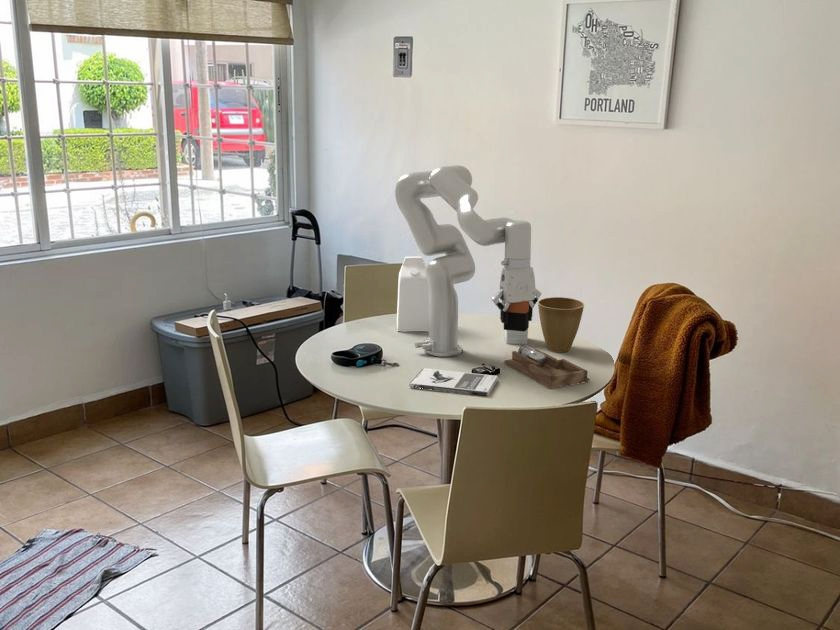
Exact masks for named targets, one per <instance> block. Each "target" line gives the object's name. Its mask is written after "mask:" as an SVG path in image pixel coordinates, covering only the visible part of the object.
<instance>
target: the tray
mask: <svg viewBox="0 0 840 630" xmlns="http://www.w3.org/2000/svg"><path fill="white" fill-rule="evenodd" d="M532 348H533V349H534V350H536V351H538V352H540V353H542V354H544V355H545V356H546V358H547V360H546V363H545V364H544V365H543V366H540V364H539V363H537V362H535V361H533V360H531V359H530V358H528V357H526V356H524V355H522V354H520V353H518V351H516V350H514V351H511V353H512V354H511V358H509V359H504V360H503V362H504V363H503V364H505V365H506V366H509V367H510V368H512V369H513V370H515V371H517V372H519V373H520V374H522V375H524V376H526V377H527V378H530V379H531V380H533V381H535V382H537V383H538V384H540V385H542V386H543V387H545V388H547V389H549V390H551V389H556V387H557V388H561V387H560V386H563V387H567V386H566V385H568V386H573V385H572V384H574V385H577V383H579V384H583V383H582V382H585V383H589V382H590V377H588V373H589V371H588V370H586V369H585V368H582V366H579V365H577V364H575V363H572V362H571V361H568V360H566V359H565V358H561V359H558V358H556V357H553V356H552V355H549V354H548V353H546V352H544V351H542V350H539V349H537V348H536V347H532ZM588 381H589V382H588Z"/></svg>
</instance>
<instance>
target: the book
mask: <svg viewBox="0 0 840 630" xmlns="http://www.w3.org/2000/svg"><path fill="white" fill-rule="evenodd" d="M497 382H498V375H492V374H485V373H484V374H482V373H474V372H473V373H471V372H465V371H464V372H463V371H455V370H453V371H452V370H445V369H437V368H436V369H434V368H422V369H421V370H420V371H419V372H418V373H417V374H416V376H415V377H413V379H411V380H410V381H409V383H408V386H409V387H414V388H421V389H420V390H423V389H432V390H439V391H438V392H441V391H446V392H445V393H450V392H453V393H452V394H459V393H461V394H462V395H470V396H478V397H488V396H489V394H490V393H491V392H492V390H493V389H494V387H495V386H496V384H497ZM409 387H408V388H409ZM414 388H413V389H414ZM422 388H423V389H422ZM432 390H431V391H432Z"/></svg>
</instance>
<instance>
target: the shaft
mask: <svg viewBox="0 0 840 630" xmlns="http://www.w3.org/2000/svg"><path fill="white" fill-rule="evenodd" d="M533 348H534V347H531V346H529V345H527V344H521V346H519V348H518V351H517V352H518V353H520V354H522V355H524V356H526V357H528V358H530V359H531V360H533V361H535V362H537V363H539V364H540V366H543V365H544V364H545V363H546V360H547V358H546V356H545V355H544V354H542V353H540V352H538V351H536V350H534V349H533Z"/></svg>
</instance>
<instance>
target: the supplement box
mask: <svg viewBox="0 0 840 630" xmlns="http://www.w3.org/2000/svg"><path fill="white" fill-rule="evenodd" d="M528 331H529V328H528V329H527V330H526V331H525V332H523V331H512V330H504V335H503V336H504V340H505V343H506V344H507V345H509V344H510V345H511V344H513V345H515V344H516V345H517V344H518V345H520V344H521V345H527V344H528V339H529V338H528V336H529V335H528V333H529V332H528Z"/></svg>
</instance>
